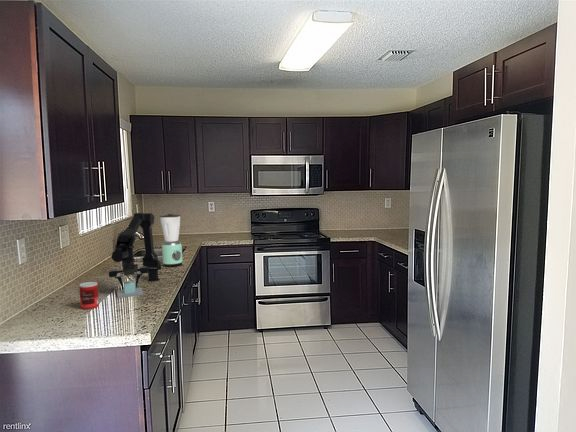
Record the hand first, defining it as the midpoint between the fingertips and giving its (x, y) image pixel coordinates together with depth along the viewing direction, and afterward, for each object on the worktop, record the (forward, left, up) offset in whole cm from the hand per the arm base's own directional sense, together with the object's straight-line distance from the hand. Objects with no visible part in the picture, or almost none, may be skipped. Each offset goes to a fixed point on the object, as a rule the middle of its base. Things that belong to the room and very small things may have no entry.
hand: (129, 287), depth 209 cm
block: (0, 0, -2) cm, 2 cm away
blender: (-62, +30, -3) cm, 69 cm away
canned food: (+15, -18, -3) cm, 24 cm away
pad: (0, 0, -3) cm, 3 cm away
